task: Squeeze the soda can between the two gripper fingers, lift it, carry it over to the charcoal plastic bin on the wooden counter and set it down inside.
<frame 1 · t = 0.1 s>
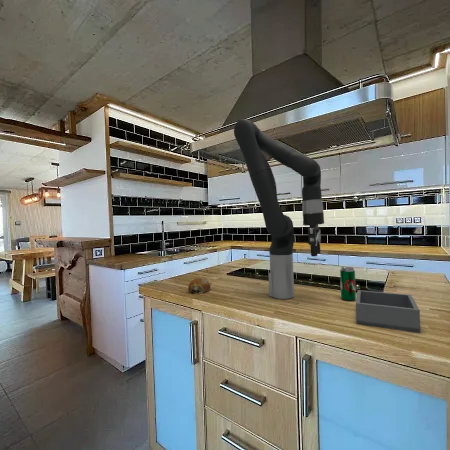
hand: (316, 254, 98), 17 cm above the countertop, tool pointing down, fingers open, 8 cm apart
bread roll: (199, 291, 117), on the countertop
bin: (385, 318, 78), on the countertop
soda can: (348, 299, 97), on the countertop
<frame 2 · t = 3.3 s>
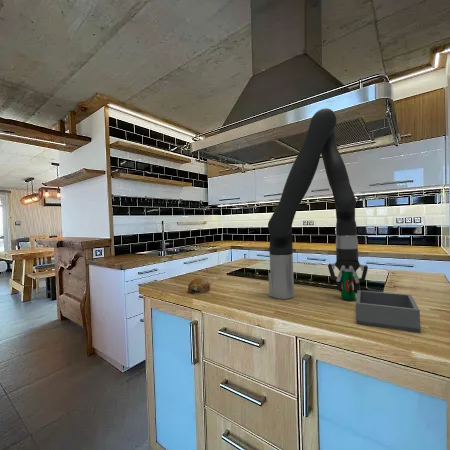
hand: (348, 291, 97), 3 cm above the countertop, tool pointing down, fingers closed on soda can, 5 cm apart
soda can: (348, 299, 97), on the countertop, touching gripper
everything else where it was.
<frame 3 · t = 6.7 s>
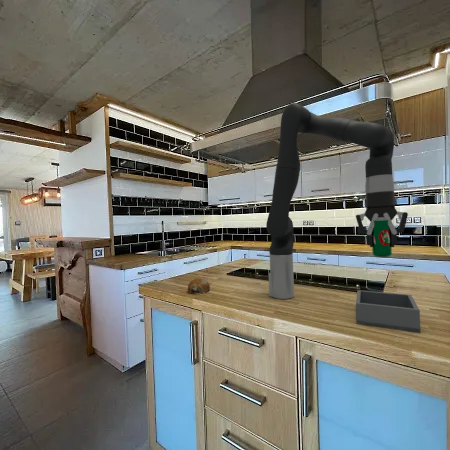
hand: (381, 246, 78), 22 cm above the countertop, tool pointing down, fingers closed on soda can, 5 cm apart
soda can: (382, 256, 78), point 19 cm above the countertop, touching gripper
everything else where it was.
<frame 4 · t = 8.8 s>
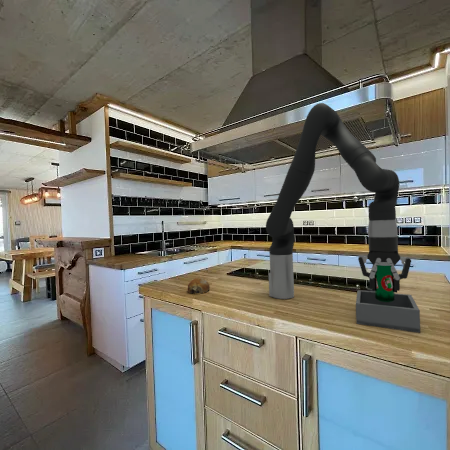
hand: (384, 290, 78), 8 cm above the countertop, tool pointing down, fingers closed on soda can, 5 cm apart
soda can: (384, 300, 78), point 5 cm above the countertop, touching gripper
everything else where it was.
when the fingers open (6 cm above the countertop, at t = 10.2 s): soda can drops 2 cm, resting on bin.
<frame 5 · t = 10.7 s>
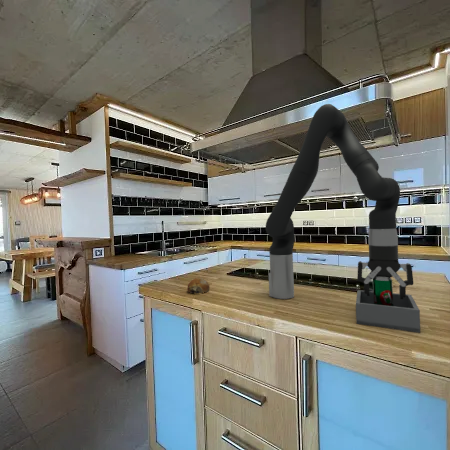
hand: (384, 296, 77), 7 cm above the countertop, tool pointing down, fingers open, 8 cm apart
soda can: (384, 315, 78), point 1 cm above the countertop, touching bin
everything else where it was.
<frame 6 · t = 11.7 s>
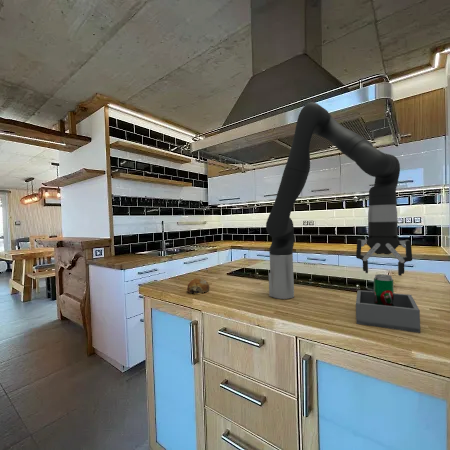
hand: (382, 273, 77), 14 cm above the countertop, tool pointing down, fingers open, 8 cm apart
nothing on the countertop moved.
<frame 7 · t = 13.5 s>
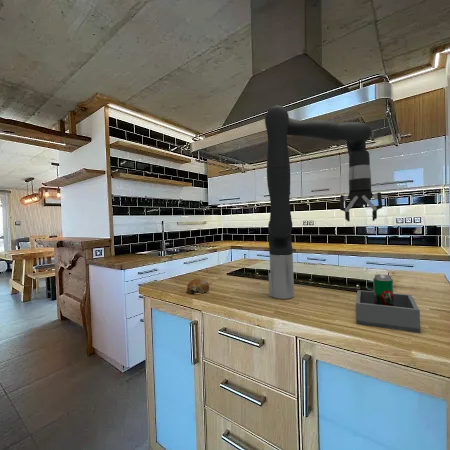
hand: (360, 221, 98), 29 cm above the countertop, tool pointing down, fingers open, 8 cm apart
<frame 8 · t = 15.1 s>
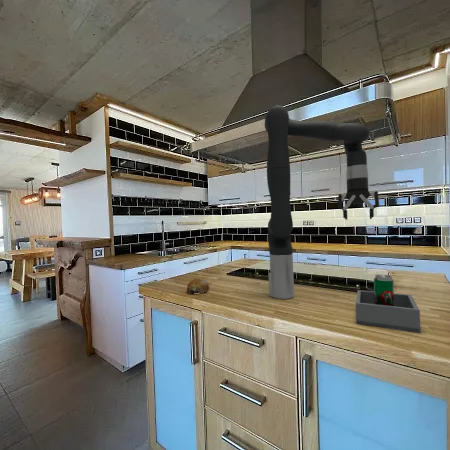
hand: (358, 219, 101), 30 cm above the countertop, tool pointing down, fingers open, 8 cm apart
at the end: soda can inside the target area on the bin (0.2 cm from its centre), point 0.8 cm above the bin's base; soda can tilted 1°; the gripper is holding nothing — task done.
